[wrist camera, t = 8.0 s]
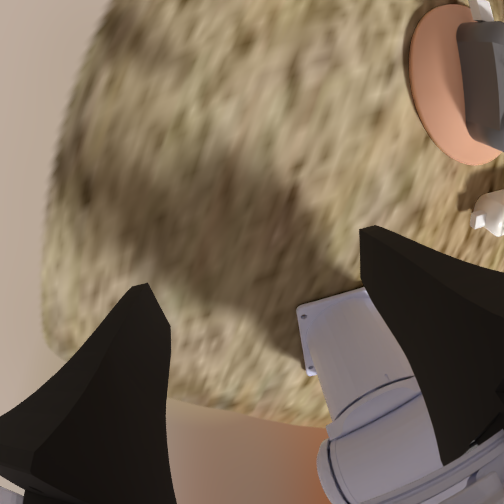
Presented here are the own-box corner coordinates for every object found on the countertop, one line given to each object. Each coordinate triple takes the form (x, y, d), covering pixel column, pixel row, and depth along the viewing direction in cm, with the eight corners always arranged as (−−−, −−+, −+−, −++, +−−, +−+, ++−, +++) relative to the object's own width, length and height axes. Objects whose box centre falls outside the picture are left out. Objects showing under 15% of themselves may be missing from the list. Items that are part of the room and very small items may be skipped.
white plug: (517, 185, 20) (536, 196, 18) (513, 210, 21) (531, 223, 19) (464, 198, 20) (486, 213, 18) (461, 228, 22) (480, 243, 19)
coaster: (514, 156, 18) (519, 158, 18) (416, 172, 18) (421, 175, 18) (504, 21, 12) (509, 21, 11) (391, -7, 12) (395, -9, 11)
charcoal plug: (492, 140, 17) (524, 153, 14) (466, 143, 17) (499, 156, 14) (476, 6, 11) (509, 4, 8) (446, -3, 11) (480, -9, 8)
